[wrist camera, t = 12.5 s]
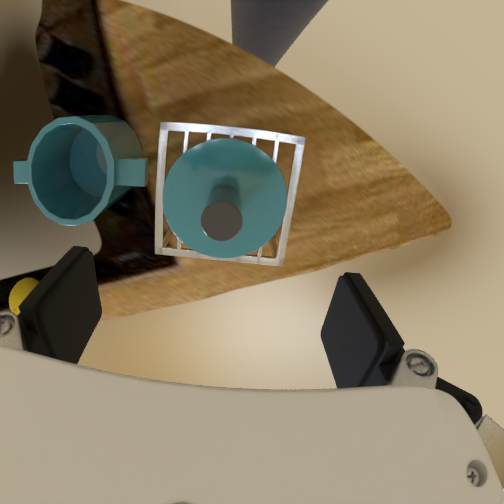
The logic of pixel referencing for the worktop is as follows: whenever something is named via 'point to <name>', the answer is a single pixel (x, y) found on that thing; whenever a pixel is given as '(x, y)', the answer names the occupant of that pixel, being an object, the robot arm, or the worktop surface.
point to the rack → (277, 137)
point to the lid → (224, 198)
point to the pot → (82, 167)
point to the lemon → (21, 293)
